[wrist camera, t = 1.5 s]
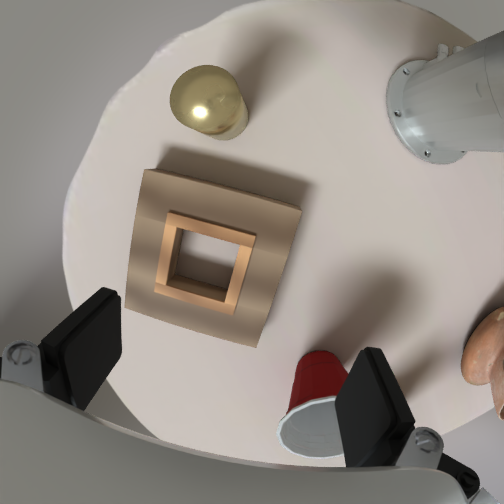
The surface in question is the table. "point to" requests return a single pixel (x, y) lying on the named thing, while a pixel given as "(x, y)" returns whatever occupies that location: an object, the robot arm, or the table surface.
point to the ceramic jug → (487, 357)
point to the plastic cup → (314, 408)
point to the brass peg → (209, 102)
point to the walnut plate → (214, 225)
